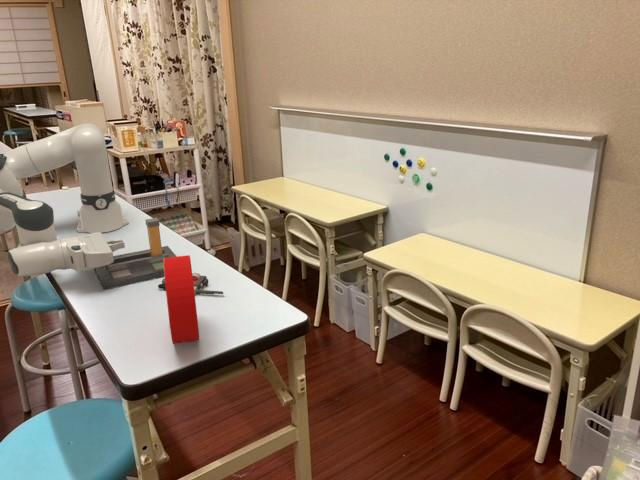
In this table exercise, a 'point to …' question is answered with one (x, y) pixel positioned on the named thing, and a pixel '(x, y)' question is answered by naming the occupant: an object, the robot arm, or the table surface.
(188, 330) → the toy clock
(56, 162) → the robot arm
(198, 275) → the walkie-talkie
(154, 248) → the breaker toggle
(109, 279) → the grey metal board
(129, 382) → the table surface
